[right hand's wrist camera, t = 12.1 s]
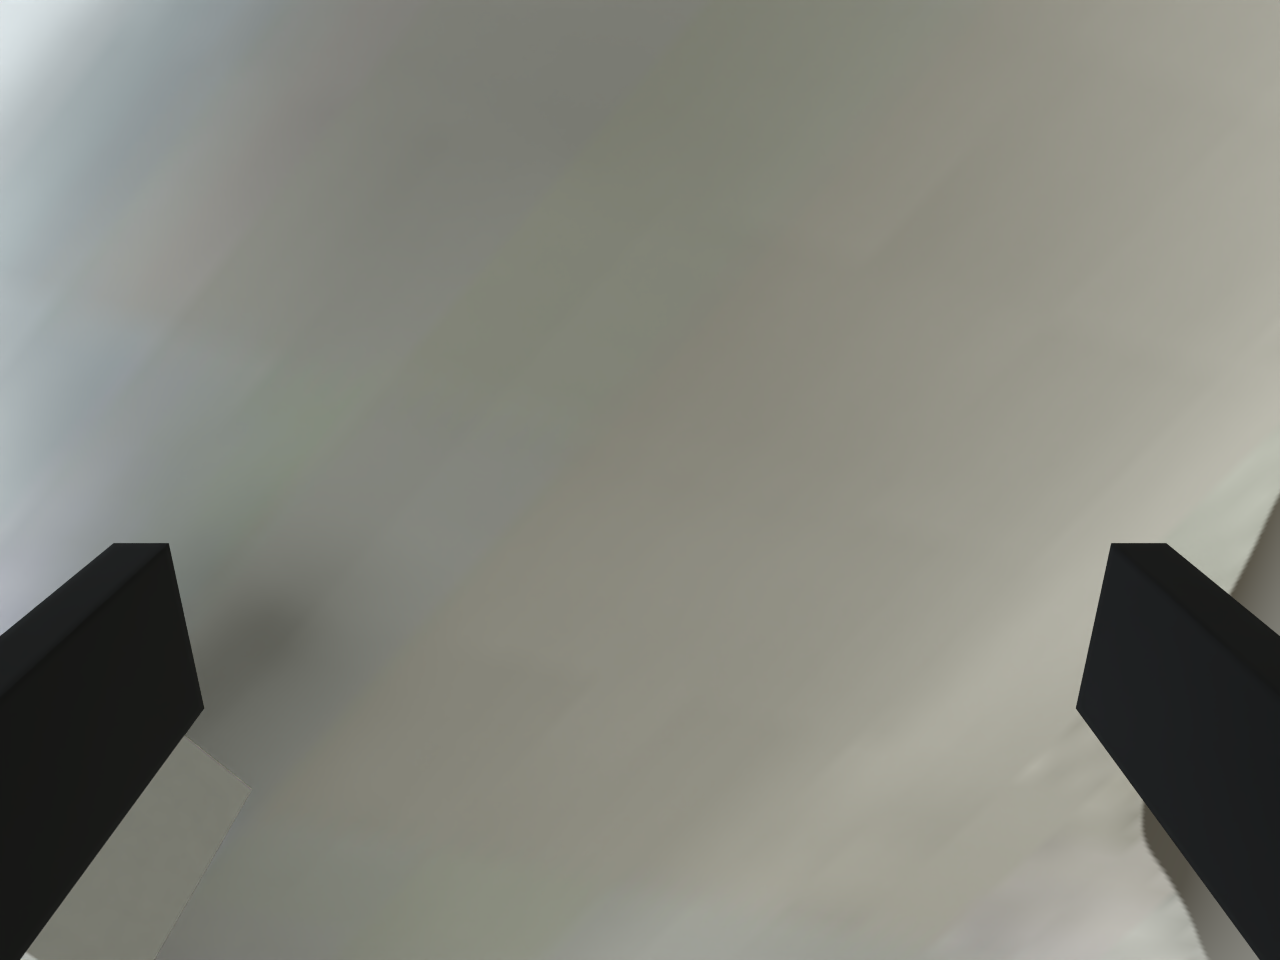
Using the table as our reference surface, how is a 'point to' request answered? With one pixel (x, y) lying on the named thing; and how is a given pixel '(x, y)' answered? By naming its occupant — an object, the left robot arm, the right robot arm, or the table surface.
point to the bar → (147, 864)
